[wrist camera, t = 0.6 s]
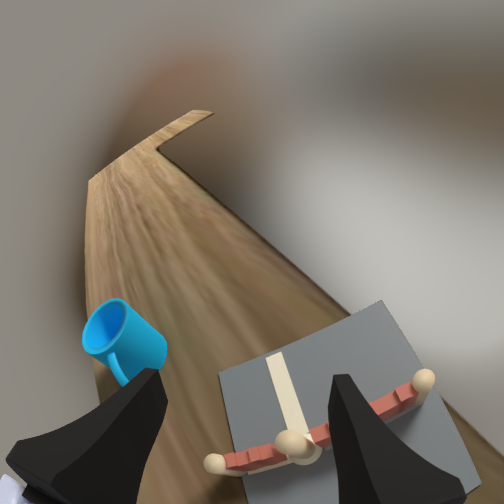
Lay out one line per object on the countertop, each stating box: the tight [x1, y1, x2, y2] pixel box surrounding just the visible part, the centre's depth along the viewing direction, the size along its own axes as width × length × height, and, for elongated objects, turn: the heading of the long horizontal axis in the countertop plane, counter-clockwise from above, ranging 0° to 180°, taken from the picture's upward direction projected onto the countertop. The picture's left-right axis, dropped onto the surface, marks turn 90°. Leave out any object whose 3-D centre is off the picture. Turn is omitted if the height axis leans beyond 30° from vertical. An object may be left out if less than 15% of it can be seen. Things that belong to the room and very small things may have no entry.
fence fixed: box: [204, 430, 315, 477], centre depth 20 cm, size 8×2×6 cm, turn 104°
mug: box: [82, 298, 167, 387], centre depth 33 cm, size 12×8×8 cm
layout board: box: [219, 300, 481, 504], centre depth 22 cm, size 23×20×1 cm
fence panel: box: [309, 369, 435, 448], centre depth 20 cm, size 10×2×5 cm, turn 104°
